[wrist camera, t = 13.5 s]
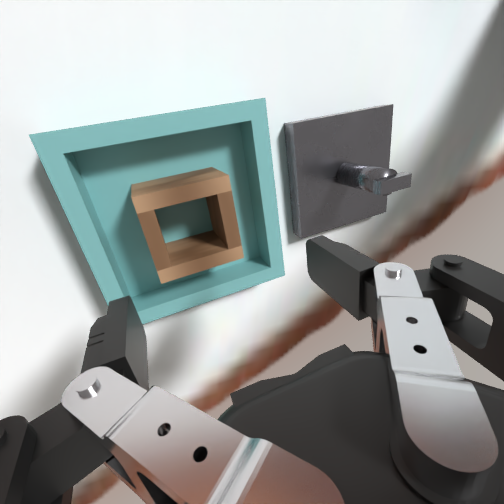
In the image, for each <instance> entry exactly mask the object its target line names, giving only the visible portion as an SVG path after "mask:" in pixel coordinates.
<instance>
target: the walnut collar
mask: <svg viewBox="0 0 504 504" xmlns="http://www.w3.org/2000/svg"><path fill="white" fill-rule="evenodd" d="M203 197H206V201H207V206H208V210H209V214H210V219H211V223H212V227H213V230H211V231H207V232H204V233H200V234H197V235H193V236H190V237H186V238H182V239H179V240H175V241H172V242H168V243H165V241H164V238H163V234H162V231H161V228H160V225H159V222H158V219H157V216H156V212H155V209H159V208H163V207H167V206H171V205H175V204H179V203H183V202H187V201H191V200H195V199H199V198H203ZM131 198H132V201H133V204H134V207H135V210H136V213H137V215H138V218H139V221H140V224H141V227H142V230H143V233H144V236H145V238H146V241H147V244H148V247H149V250H150V253H151V256H152V258H153V261H154V264H155V267H156V270H157V273H158V276H159V279H160V281H161V284H163V283H166V282H169V281H172V280H175V279H178V278H182V277H185V276H188V275H191V274H194V273H197V272H201V271H204V270H207V269H210V268H213V267H216V266H220V265H223V264H226V263H229V262H232V261H235V260H239V259H242V258H244V254H243V249H242V243H241V238H240V233H239V227H238V222H237V216H236V211H235V205H234V200H233V195H232V189H231V184H230V178H229V175H228V174H226V173H224V172H222V171H219V170H217V169H215V168H213V167H209V168H204V169H200V170H195V171H191V172H186V173H181V174H177V175H172V176H168V177H163V178H159V179H154V180H149V181H145V182H140V183H136V184H131Z"/></svg>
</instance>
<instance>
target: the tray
mask: <svg viewBox="0 0 504 504" xmlns="http://www.w3.org/2000/svg"><path fill="white" fill-rule="evenodd" d="M29 136H30V138H31V141H32V143H33V145H34V147H35V149H36V151H37V154H38V156H39V158H40V160H41V162H42V164H43V167H44V169H45V171H46V173H47V175H48V177H49V179H50V182H51V184H52V186H53V188H54V190H55V192H56V195H57V197H58V199H59V201H60V203H61V205H62V208H63V210H64V212H65V214H66V216H67V218H68V220H69V223H70V225H71V227H72V229H73V231H74V233H75V236H76V238H77V240H78V242H79V244H80V246H81V249H82V251H83V253H84V255H85V257H86V259H87V261H88V264H89V266H90V268H91V270H92V272H93V274H94V277H95V279H96V281H97V283H98V285H99V287H100V289H101V292H102V294H103V296H104V298H105V300H106V302H107V305H108V306H109V302H110V301H112V300H116V299H119V298H122V297H125V296H128V295H129V296H130V297H131V299H132V301H133V303H134V306H135V308H136V310H137V313H138V315H139V318H140V320H141V322H142V324H145V323H148V322H151V321H154V320H157V319H159V318H162V317H165V316H168V315H171V314H174V313H177V312H180V311H183V310H186V309H188V308H191V307H194V306H197V305H200V304H203V303H206V302H209V301H212V300H215V299H218V298H220V297H223V296H226V295H229V294H232V293H235V292H238V291H241V290H244V289H247V288H249V287H252V286H255V285H258V284H261V283H264V282H267V281H270V280H273V279H276V278H279V277H281V276H284V275H285V271H284V262H283V253H282V244H281V235H280V226H279V217H278V208H277V199H276V190H275V181H274V172H273V163H272V154H271V145H270V136H269V127H268V118H267V109H266V100H265V98H261V99H254V100H248V101H241V102H235V103H229V104H222V105H216V106H210V107H203V108H197V109H190V110H184V111H178V112H171V113H165V114H158V115H152V116H146V117H139V118H133V119H126V120H120V121H114V122H107V123H101V124H95V125H88V126H82V127H75V128H69V129H63V130H56V131H50V132H43V133H37V134H31V135H29ZM209 167H213V168H215V169H217V170H219V171H222V172H224V173H226V174H228V175H229V178H230V184H231V189H232V195H233V200H234V205H235V211H236V216H237V222H238V227H239V233H240V238H241V243H242V249H243V254H244V258H242V259H239V260H235V261H232V262H229V263H226V264H223V265H220V266H216V267H213V268H210V269H207V270H204V271H201V272H197V273H194V274H191V275H188V276H185V277H182V278H178V279H175V280H172V281H169V282H166V283H163V284H161V281H160V279H159V276H158V273H157V270H156V267H155V264H154V261H153V258H152V256H151V253H150V250H149V247H148V244H147V241H146V238H145V236H144V233H143V230H142V227H141V224H140V221H139V218H138V215H137V213H136V210H135V207H134V204H133V201H132V198H131V184H136V183H140V182H145V181H149V180H154V179H159V178H163V177H168V176H172V175H177V174H181V173H186V172H191V171H195V170H200V169H204V168H209ZM155 212H156V216H157V219H158V222H159V225H160V228H161V231H162V234H163V238H164V241H165V243H168V242H172V241H175V240H179V239H182V238H186V237H190V236H193V235H197V234H200V233H204V232H207V231H211V230H213V227H212V223H211V219H210V214H209V210H208V206H207V201H206V197H203V198H199V199H195V200H191V201H187V202H183V203H179V204H175V205H171V206H167V207H163V208H159V209H155Z"/></svg>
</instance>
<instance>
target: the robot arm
mask: <svg viewBox="0 0 504 504" xmlns="http://www.w3.org/2000/svg"><path fill="white" fill-rule="evenodd" d="M306 253H307V267H308V273H309V276H310V278H311V279H312V280H313V282H315V283H316V284H317V285H318V286H319V287H320V288H321V289H323V290H324V291H325V292H326V293H327V294H328V295H330V296H331V297H332V298H333V299H334V300H335V301H336V302H338V303H339V304H340V305H341V306H342V307H343V308H344V309H346V310H347V311H348V312H349V313H350V314H351V315H353V316H354V317H355V318H356V319H357V320H358V321H359V320H362V319H364V318H366V317H368V316H370V317H371V328H372V338H373V349H374V352H371V351H358V352H352V351H351V350H350V349H349V348H348V347H347V346H346V345H345V344H344V345H342V346H340V347H337V348H335V349H332V350H330V351H328V352H326V353H323V354H321V355H319V356H318V357H316V358H315V359H314V360H312V361H311V362H310V363H308V364H307V365H306V366H305V367H303V368H302V369H301V370H300V371H298V372H297V373H295V374H292V375H288V376H283V377H278V378H272V379H267V380H261V381H259V382H256V383H254V384H252V385H249V386H247V387H245V388H243V389H240V390H238V391H236V392H233V393H231V394H230V395H231V398H232V402H233V405H232V406H231V407H229V408H228V409H227V410H226V411H225V412H224V413H223V414H222V415H221V416H220V417H219V418H218V419H215V418H213V417H212V416H210V415H208V414H206V413H204V412H203V411H201V410H199V409H197V408H196V407H194V406H192V405H190V404H189V403H187V402H185V401H183V400H182V399H180V398H178V397H176V396H175V395H173V394H171V393H169V392H167V391H166V390H164V389H162V388H160V387H158V386H155V385H154V386H152V387H151V388H150V389H149V383H148V363H147V343H146V335H145V331H144V328H143V325H142V322H141V320H140V318H139V315H138V313H137V310H136V308H135V306H134V303H133V301H132V299H131V297H130V296H129V295H128V296H125V297H122V298H119V299H116V300H112V301H110V302H109V306H108V312H107V315H106V316H103V317H100V318H98V319H97V320H96V322H95V323H94V324H93V326H92V327H91V329H90V334H89V339H88V343H87V348H86V352H85V356H84V361H83V365H82V370H81V374H80V375H79V376H77V377H76V378H75V379H74V380H72V381H71V382H70V384H69V385H68V386H67V387H66V389H65V390H64V392H63V394H62V398H61V403H60V404H58V405H57V406H55V407H54V408H52V409H51V410H49V411H47V412H46V413H44V414H43V415H41V416H39V417H38V418H36V419H34V420H33V421H31V422H28V421H27V420H26V419H25V418H24V417H22V416H11V417H7V418H4V419H2V420H0V504H71V501H72V492H73V486H74V485H75V484H76V483H78V482H79V481H80V480H82V479H83V478H84V477H86V476H87V475H88V474H89V473H91V472H92V471H93V470H95V469H96V468H97V467H99V466H100V465H101V464H105V465H106V466H107V467H108V468H109V469H110V470H111V471H112V472H113V473H114V474H115V475H116V476H118V477H119V478H120V479H121V480H122V481H123V482H124V483H125V484H126V485H127V486H128V487H129V488H130V489H132V490H133V491H134V492H135V493H136V494H137V495H138V496H139V497H140V498H141V499H142V500H143V501H144V502H145V503H146V504H504V390H501V389H498V388H495V387H491V386H488V385H485V384H482V383H479V382H475V381H472V380H469V379H466V378H464V376H463V374H462V372H461V369H460V367H459V364H458V362H457V359H456V357H455V355H454V352H453V350H452V347H451V345H450V342H452V343H453V344H454V345H456V346H457V347H458V348H460V349H461V350H462V351H464V352H465V353H467V354H468V355H469V356H470V357H472V358H473V359H474V360H476V361H477V362H478V363H480V364H481V365H483V366H484V367H485V368H487V369H488V370H489V371H491V372H492V373H493V374H495V375H496V376H497V377H499V378H500V379H502V380H503V381H504V274H502V273H499V272H497V271H495V270H492V269H490V268H488V267H485V266H483V265H481V264H479V263H476V262H474V261H472V260H469V259H467V258H465V257H461V256H457V255H439V256H436V257H434V258H432V260H431V265H430V269H424V270H416V271H413V269H412V268H410V267H409V266H407V265H405V264H401V263H395V262H386V263H381V264H380V263H378V262H376V261H374V260H373V259H371V258H369V257H367V256H366V255H364V254H362V253H361V254H360V252H358V251H357V250H354V249H353V248H351V247H349V246H348V245H346V244H342V243H338V242H334V241H332V240H330V239H328V238H327V237H325V236H319V237H315V238H312V239H309V240H307V242H306ZM468 298H469V299H471V300H472V301H474V302H476V303H478V304H480V305H481V306H483V307H485V308H486V309H487V310H488V311H489V312H490V313H491V315H492V317H493V323H492V326H490V325H488V324H487V323H485V322H484V321H482V320H480V319H479V318H477V317H475V316H474V315H472V314H470V313H468V312H467V311H465V310H466V306H467V301H468ZM449 341H450V342H449Z"/></svg>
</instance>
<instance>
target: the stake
mask: <svg viewBox="0 0 504 504" xmlns="http://www.w3.org/2000/svg"><path fill="white" fill-rule="evenodd" d="M392 116H393V104H392V105H381V106H375V107H370V108H365V109H359V110H354V111H349V112H343V113H338V114H332V115H327V116H322V117H316V118H311V119H306V120H300V121H295V122H289V123H284V127H285V139H286V150H287V161H288V173H289V184H290V195H291V207H292V218H293V230H294V234H296V235H297V236H299V237H300V238H304V237H307V236H310V235H313V234H317V233H320V232H323V231H326V230H330V229H333V228H336V227H339V226H342V225H346V224H349V223H352V222H355V221H358V220H362V219H365V218H368V217H371V216H375V215H378V214H381V213H384V212H386V205H387V195H389V194H391V193H392V192H394V191H398V190H401V189H404V188H408V187H410V185H411V175H412V174H411V173H405V172H401V173H398V174H397V172H396V171H395V170H393V169H389V161H390V146H391V131H392Z"/></svg>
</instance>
